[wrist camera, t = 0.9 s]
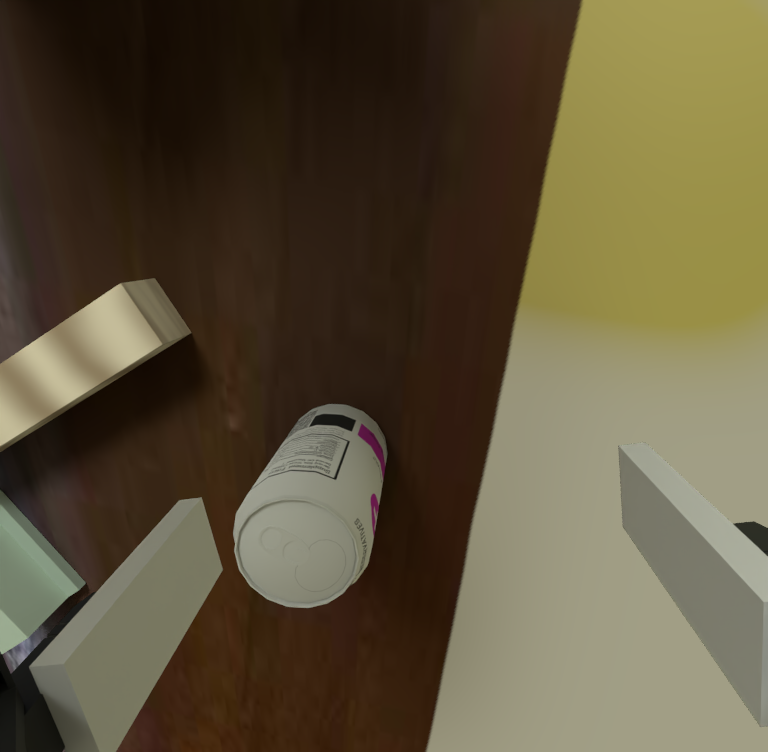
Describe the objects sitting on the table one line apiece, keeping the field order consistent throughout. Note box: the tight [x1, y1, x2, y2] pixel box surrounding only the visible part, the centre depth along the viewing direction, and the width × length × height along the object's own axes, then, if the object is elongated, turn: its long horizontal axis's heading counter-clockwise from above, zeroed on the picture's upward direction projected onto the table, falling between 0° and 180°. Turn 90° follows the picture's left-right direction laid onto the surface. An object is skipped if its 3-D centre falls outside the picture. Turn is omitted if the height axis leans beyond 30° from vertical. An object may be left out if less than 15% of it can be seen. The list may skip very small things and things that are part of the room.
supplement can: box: [233, 404, 388, 608], centre depth 35 cm, size 8×8×15 cm
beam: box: [0, 278, 191, 452], centre depth 41 cm, size 24×5×5 cm, turn 121°
